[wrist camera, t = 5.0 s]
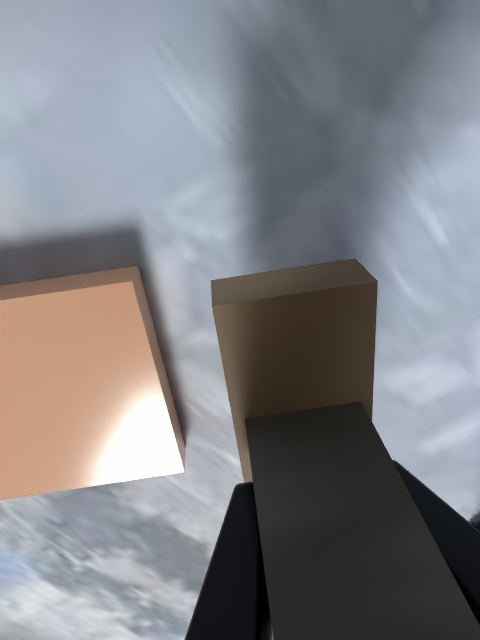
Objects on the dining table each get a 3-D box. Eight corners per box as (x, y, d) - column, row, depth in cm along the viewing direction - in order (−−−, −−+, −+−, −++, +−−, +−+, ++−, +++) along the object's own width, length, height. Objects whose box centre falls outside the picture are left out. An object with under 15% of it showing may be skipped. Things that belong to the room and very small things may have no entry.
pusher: (355, 258, 8) (649, 559, 3) (352, 507, 12) (474, 838, 7) (210, 279, 8) (225, 627, 3) (254, 523, 12) (296, 867, 7)
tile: (140, 259, 11) (131, 280, 10) (185, 436, 15) (184, 472, 13) (-105, 294, 11) (-149, 322, 10) (-3, 465, 15) (-25, 504, 13)
